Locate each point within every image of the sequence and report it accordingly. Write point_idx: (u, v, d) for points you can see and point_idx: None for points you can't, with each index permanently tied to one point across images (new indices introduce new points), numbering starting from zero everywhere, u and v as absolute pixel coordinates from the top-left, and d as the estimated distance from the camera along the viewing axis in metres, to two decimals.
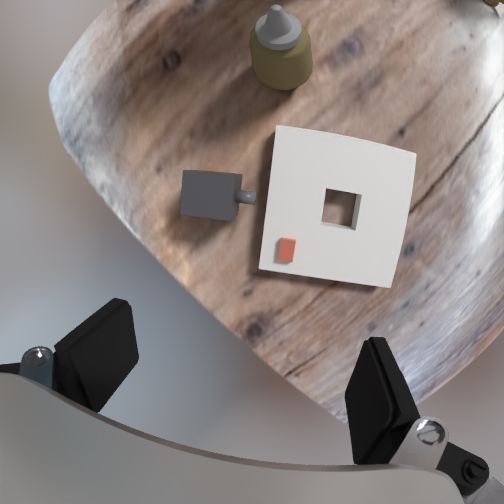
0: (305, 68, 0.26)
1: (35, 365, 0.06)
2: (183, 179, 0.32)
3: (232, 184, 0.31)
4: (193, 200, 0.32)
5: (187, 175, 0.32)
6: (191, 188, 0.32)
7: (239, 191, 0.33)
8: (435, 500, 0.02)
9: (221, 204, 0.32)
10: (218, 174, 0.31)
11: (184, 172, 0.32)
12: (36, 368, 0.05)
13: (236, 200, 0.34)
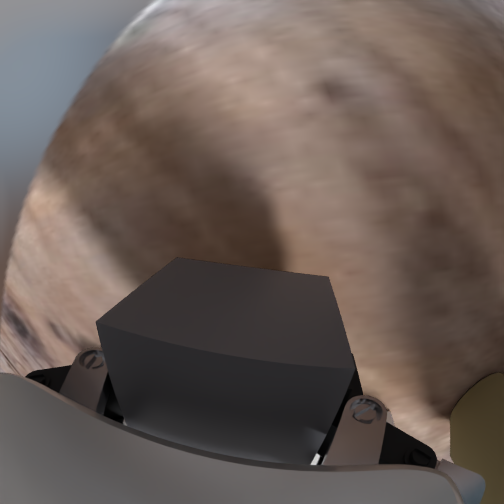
0: None
1: (89, 366, 0.06)
2: (296, 370, 0.05)
3: None
4: (177, 398, 0.06)
5: (318, 389, 0.05)
6: (237, 400, 0.05)
7: None
8: (435, 500, 0.02)
9: None
10: None
11: (339, 376, 0.05)
12: (89, 370, 0.06)
13: None
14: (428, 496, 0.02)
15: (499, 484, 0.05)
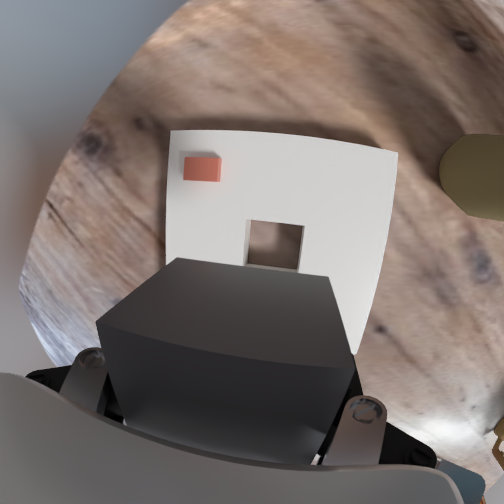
0: (484, 208, 0.15)
1: (89, 366, 0.06)
2: (296, 370, 0.05)
3: None
4: (176, 397, 0.06)
5: (317, 389, 0.05)
6: (237, 400, 0.05)
7: None
8: (435, 500, 0.02)
9: None
10: None
11: (339, 375, 0.05)
12: (89, 370, 0.06)
13: None
14: (428, 496, 0.02)
15: (488, 155, 0.13)
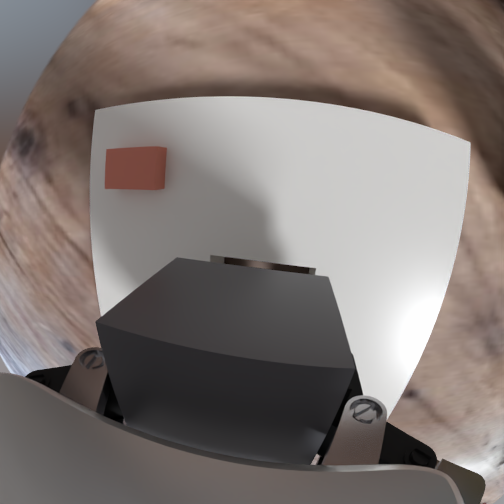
0: None
1: (89, 366, 0.06)
2: (296, 370, 0.05)
3: None
4: (176, 397, 0.06)
5: (317, 389, 0.05)
6: (237, 400, 0.05)
7: None
8: (435, 500, 0.02)
9: None
10: None
11: (339, 375, 0.05)
12: (89, 370, 0.06)
13: None
14: (428, 496, 0.02)
15: None
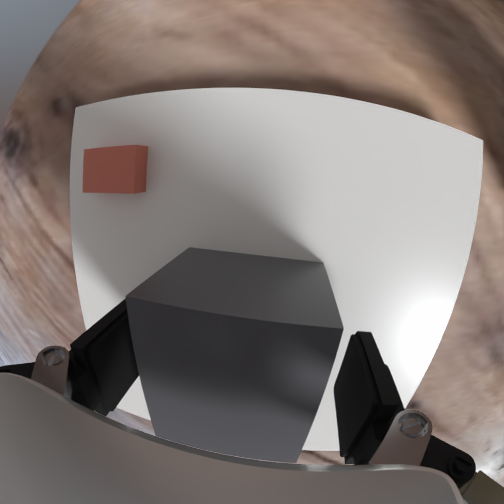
0: None
1: (50, 364, 0.06)
2: (295, 329, 0.06)
3: (264, 458, 0.08)
4: (193, 361, 0.07)
5: (313, 347, 0.06)
6: (246, 360, 0.07)
7: None
8: (435, 500, 0.02)
9: (196, 431, 0.08)
10: (301, 437, 0.07)
11: (331, 334, 0.06)
12: (51, 367, 0.06)
13: None
14: (428, 496, 0.02)
15: None
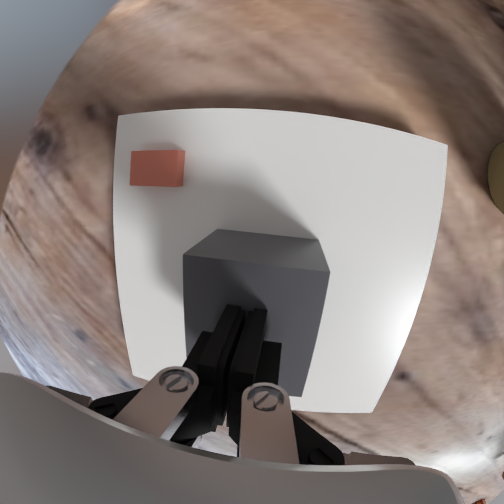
0: None
1: (169, 387, 0.06)
2: (299, 272, 0.10)
3: None
4: (229, 300, 0.11)
5: (311, 286, 0.10)
6: (266, 296, 0.10)
7: None
8: (435, 500, 0.02)
9: None
10: (305, 367, 0.11)
11: (322, 276, 0.10)
12: (167, 392, 0.06)
13: None
14: (428, 496, 0.02)
15: None
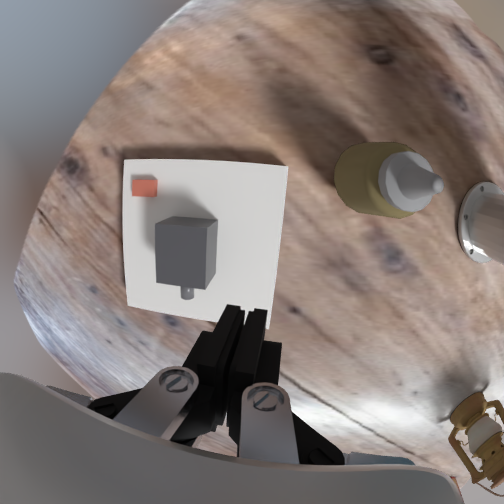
0: (358, 206, 0.24)
1: (169, 387, 0.06)
2: (195, 228, 0.26)
3: (194, 287, 0.28)
4: (171, 241, 0.27)
5: (200, 233, 0.26)
6: (185, 238, 0.27)
7: None
8: (435, 500, 0.02)
9: (171, 273, 0.28)
10: (203, 272, 0.27)
11: (204, 229, 0.26)
12: (167, 392, 0.06)
13: None
14: (428, 496, 0.02)
15: (355, 162, 0.22)
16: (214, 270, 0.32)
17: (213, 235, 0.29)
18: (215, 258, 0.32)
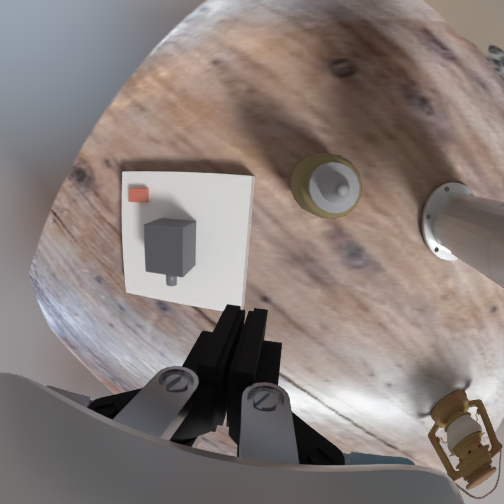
0: (305, 209, 0.30)
1: (169, 387, 0.06)
2: (174, 228, 0.33)
3: (174, 275, 0.34)
4: (156, 238, 0.33)
5: (178, 232, 0.33)
6: (166, 236, 0.33)
7: None
8: (435, 500, 0.02)
9: (156, 264, 0.34)
10: (181, 262, 0.34)
11: (180, 229, 0.33)
12: (167, 392, 0.06)
13: None
14: (428, 496, 0.02)
15: (298, 172, 0.28)
16: (193, 262, 0.38)
17: (190, 233, 0.36)
18: (194, 252, 0.38)
